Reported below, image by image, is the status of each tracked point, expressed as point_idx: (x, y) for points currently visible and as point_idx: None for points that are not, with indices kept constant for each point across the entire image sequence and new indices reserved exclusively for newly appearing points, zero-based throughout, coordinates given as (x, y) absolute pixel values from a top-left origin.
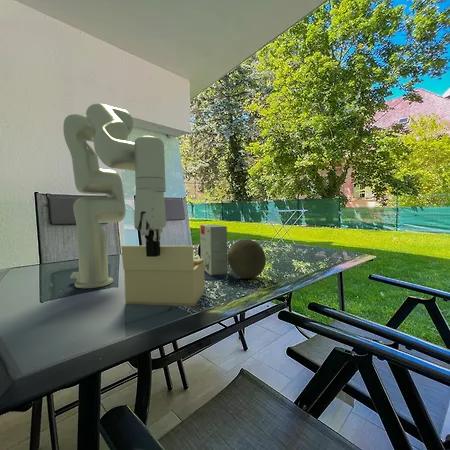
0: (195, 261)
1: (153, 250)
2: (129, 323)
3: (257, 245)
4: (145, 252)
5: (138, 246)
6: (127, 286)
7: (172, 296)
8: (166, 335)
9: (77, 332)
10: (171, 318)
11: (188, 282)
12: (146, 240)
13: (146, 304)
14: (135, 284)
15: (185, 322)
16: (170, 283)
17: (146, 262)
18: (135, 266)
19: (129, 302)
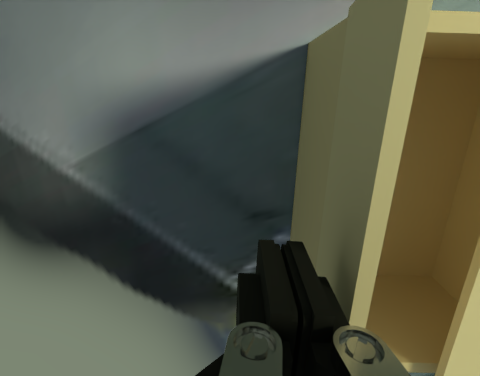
0: (440, 371)
1: (236, 321)
2: (147, 138)
3: None
4: (352, 205)
5: (377, 162)
6: (326, 44)
7: (297, 228)
8: (100, 252)
9: (59, 7)
10: (195, 237)
11: None
12: (229, 345)
13: (300, 128)
14: (324, 87)
15: (175, 275)
16: (308, 245)
17: (336, 181)
18: (341, 99)
19: (308, 60)
